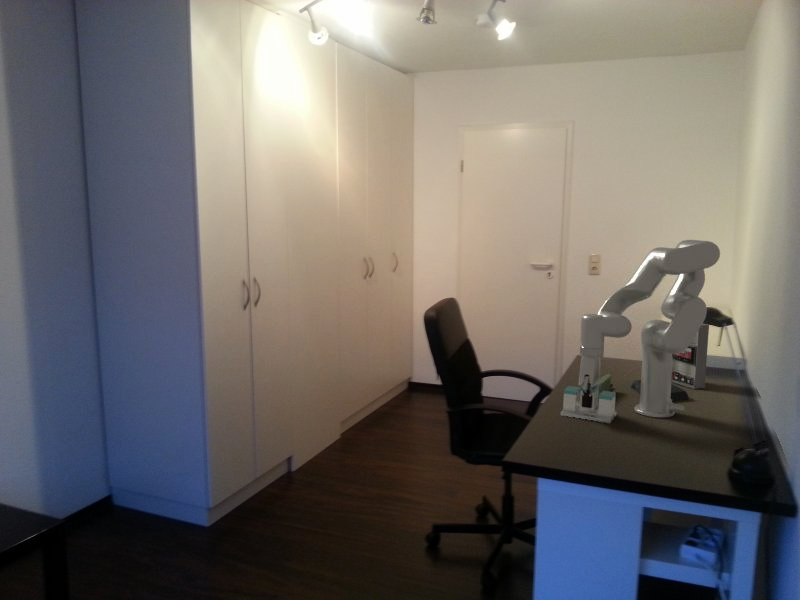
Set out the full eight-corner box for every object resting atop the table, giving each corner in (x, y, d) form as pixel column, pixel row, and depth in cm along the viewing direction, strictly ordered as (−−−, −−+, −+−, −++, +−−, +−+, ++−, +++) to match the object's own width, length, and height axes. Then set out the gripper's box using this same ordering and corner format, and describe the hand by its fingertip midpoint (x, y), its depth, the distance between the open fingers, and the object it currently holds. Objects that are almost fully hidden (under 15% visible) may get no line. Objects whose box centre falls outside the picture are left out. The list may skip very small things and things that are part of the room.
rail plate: (616, 415, 214) (617, 391, 213) (609, 423, 205) (611, 398, 204) (568, 407, 222) (569, 384, 221) (560, 415, 213) (561, 391, 212)
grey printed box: (665, 381, 259) (669, 320, 256) (677, 379, 261) (681, 319, 258) (693, 389, 246) (697, 325, 243) (705, 388, 249) (709, 324, 245)
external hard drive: (656, 387, 251) (657, 377, 250) (691, 401, 232) (692, 390, 232) (627, 389, 247) (628, 379, 247) (661, 404, 229) (661, 392, 228)
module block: (597, 405, 215) (599, 385, 214) (593, 410, 210) (594, 389, 209) (584, 403, 217) (585, 383, 216) (579, 408, 212) (580, 387, 211)
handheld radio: (586, 403, 228) (606, 387, 249) (596, 405, 226) (615, 389, 247) (588, 385, 227) (608, 371, 248) (597, 387, 225) (616, 372, 246)
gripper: (586, 345, 220) (584, 396, 222) (573, 355, 205) (571, 409, 208) (609, 348, 216) (606, 400, 219) (597, 358, 201) (594, 413, 204)
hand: (589, 404), depth 213 cm, fingers closed on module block, 5 cm apart
